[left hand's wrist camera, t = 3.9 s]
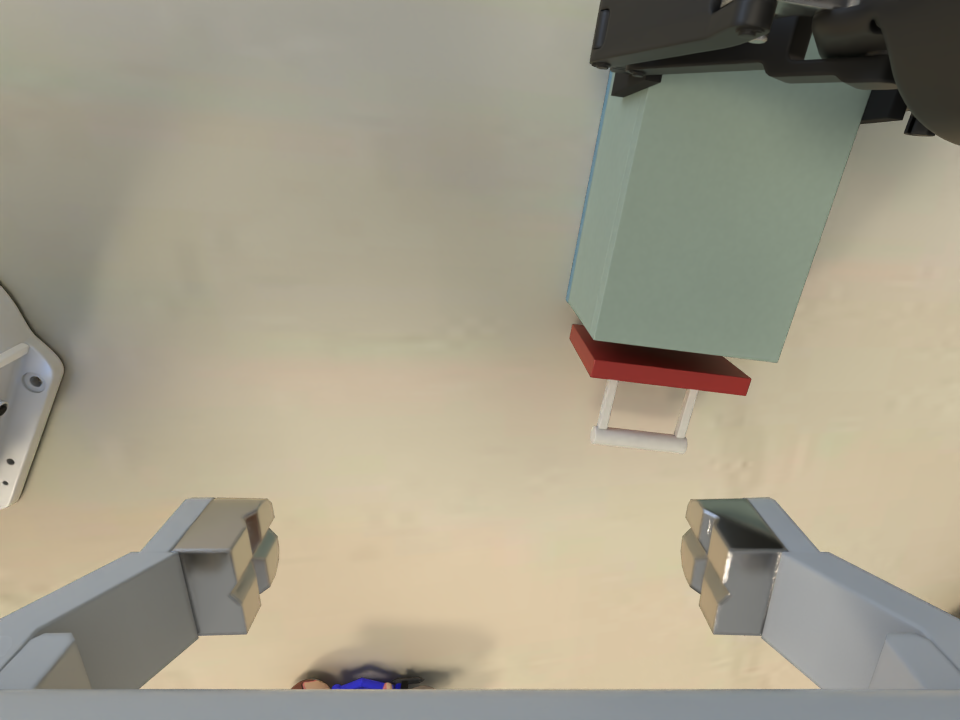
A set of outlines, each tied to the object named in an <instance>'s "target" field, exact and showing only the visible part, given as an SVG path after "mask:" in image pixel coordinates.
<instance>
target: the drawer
mask: <svg viewBox="0 0 960 720" xmlns="http://www.w3.org/2000/svg"><path fill="white" fill-rule="evenodd" d="M570 341H571V342H572V344H573V346H574V348H575V350H576V351H577V353H578V355H579V357H580V359H581V360H582V362H583V364H584V366H585V368H586V370H587V371H588V373H589V375H590V377H593V378H601V379H608V380H607V384H606V388H605V393H604V397H603V401H602V405H601V410H600V414H599V418H598V423H597V426H593V427H592V430H591V436H590V438H591V443H592V444H596V445H605V446H614V447H623V448H632V449H641V450H650V451H658V452H667V453H676V454H684V453H685V452H686V450H687V439H686V437H685V435H686V431H687V428H688V425H689V421H690V418H691V415H692V411H693V408H694V404H695V401H696V398H697V394H698V391H699V390H701V391H709V392H718V393H726V394H734V395H743V396H746V394H747V391H748V388H749V385H750V382H751V378H750V377H748V376H747V375H746V374H745V373H743V372H742V371H741V370H740V369H738V368H737V367H736V366H734V365H733V364H732V363H731V362H729V361H728V360H727V359H725V358H724V357H723V356H718V355H710V354H702V353H694V352H686V351H678V350H670V349H661V348H653V347H645V346H637V345H629V344H621V343H613V342H605V341H597V340H593V338H592V337H591V335H590V334H589V332H588V331H587V329H586V328H585V326H584V325H576V324H573V325H572V329H571V334H570ZM618 381H626V382H634V383H643V384H651V385H659V386H668V387H676V388H684V389H687V390H686V393H685V397H684V400H683V404H682V407H681V411H680V414H679V417H678V421H677V424H676V428H675V431H674V434H675V435H672V434H663V433H654V432H646V431H637V430H628V429H620V428H611V427H608V422H609V418H610V414H611V410H612V406H613V402H614V397H615V393H616V389H617V385H618Z"/></svg>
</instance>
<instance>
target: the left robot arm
mask: <svg viewBox="0 0 960 720" xmlns="http://www.w3.org/2000/svg"><path fill="white" fill-rule="evenodd" d="M63 373H64V367H63V364H62V362H61V360H60V359H59V357H58V356H57V355H56V354H55V353H54V352H53V351H52V350H51V349H50V348H49V347H48V346H47V345H46V344H44V343H43V342H42V341H41V340H40V339H39V338H38V337H36V336H35V335H34V333H33V332H32V331H31V330H30V328H29V326H28V325H27V323H26V322H25V320H24V318H23V316H22V315H21V313H20V311H19V309H18V308H17V306H16V305H15V303H14V302H13V300H12V299H11V297H10V296H9V295H8V294H7V292H6V291H5V290H4V289H3V288H2V287H1V286H0V510H1V509H4V508H7V507H9V506H11V505H12V504H14V503H16V502H17V501H18V499H19V497H20V495H21V492H22V490H23V487H24V484H25V481H26V478H27V475H28V473H29V470H30V467H31V464H32V461H33V459H34V456H35V453H36V450H37V447H38V444H39V442H40V439H41V436H42V433H43V430H44V427H45V425H46V422H47V419H48V416H49V413H50V410H51V408H52V405H53V402H54V399H55V396H56V394H57V391H58V388H59V385H60V382H61V379H62V377H63ZM37 377H38V378H39V379H40V380H41V382H42V383H41V382H40V381H39V380H38V379H37ZM273 519H274V512H273V507H272V503H271V502H270V501H269V500H268V499H260V498H214V497H208V498H189V499H186V500H185V501H184V502H183V503H182V504H181V505H180V506H179V508H178V509H177V510H176V511H175V512H174V513H173V514H172V516H171V517H170V518H169V519H168V520H167V521H166V522H165V524H164V525H163V526H162V527H161V528H160V529H159V531H158V532H157V533H156V534H155V535H154V536H153V537H152V539H151V540H150V541H149V542H148V543H147V544H146V545H145V547H144V548H143V549H142V550H141V551H140V552H131V553H129V554H127V555H125V556H123V557H121V558H119V559H117V560H115V561H113V562H111V563H109V564H107V565H105V566H103V567H101V568H99V569H97V570H95V571H93V572H91V573H89V574H87V575H85V576H83V577H81V578H80V579H78V580H76V581H74V582H72V583H70V584H68V585H66V586H64V587H62V588H60V589H58V590H56V591H54V592H52V593H50V594H48V595H46V596H44V597H42V598H40V599H38V600H36V601H34V602H32V603H30V604H28V605H27V606H25V607H23V608H21V609H19V610H17V611H15V612H13V613H11V614H9V615H7V616H5V617H3V618H1V619H0V720H960V619H959V618H957V617H955V616H953V615H951V614H949V613H947V612H945V611H943V610H941V609H939V608H937V607H935V606H933V605H931V604H929V603H927V602H925V601H923V600H921V599H919V598H918V597H916V596H914V595H912V594H910V593H908V592H906V591H904V590H902V589H900V588H898V587H896V586H894V585H892V584H890V583H888V582H886V581H884V580H882V579H880V578H878V577H876V576H874V575H873V574H871V573H869V572H867V571H865V570H863V569H861V568H859V567H857V566H855V565H853V564H851V563H849V562H847V561H845V560H843V559H841V558H839V557H837V556H835V555H833V554H831V553H829V552H820V551H819V550H818V549H817V548H816V547H815V546H814V544H813V543H812V542H811V541H810V540H809V539H808V537H807V536H806V535H805V534H804V533H803V532H802V531H801V529H800V528H799V527H798V526H797V525H796V524H795V523H794V521H793V520H792V519H791V518H790V517H789V516H788V514H787V513H786V512H785V511H784V510H783V509H782V508H781V506H780V505H779V504H778V503H777V502H776V501H775V500H774V499H772V498H769V497H758V498H742V499H691V500H690V502H689V504H688V506H687V511H686V519H687V521H688V523H689V525H690V526H691V528H690V529H689V530H688V531H687V532H686V533H685V534H684V535H683V536H682V544H681V561H682V568H683V571H684V575H685V577H686V580H687V582H688V584H689V586H690V587H691V588H692V589H694V590H695V591H696V592H698V593H699V594H701V595H700V601H699V607H700V609H701V611H702V613H703V615H704V617H705V619H706V621H707V623H708V625H709V627H710V629H711V631H712V633H713V634H718V635H753V636H762V637H761V638H762V639H763V640H764V641H765V642H767V643H768V644H769V645H770V646H771V647H773V648H774V649H775V650H776V651H777V652H778V653H780V654H781V655H782V656H783V657H784V658H785V659H787V660H788V661H789V662H790V663H791V664H793V665H794V666H795V667H796V668H797V669H798V670H800V671H801V672H802V673H803V674H804V675H805V676H807V677H808V678H809V679H810V680H811V681H813V682H814V683H815V684H816V685H817V686H818V687H820V688H821V689H139V688H141V687H142V686H143V685H144V684H145V683H146V682H148V681H149V680H150V679H151V678H152V677H154V676H155V675H156V674H157V673H158V672H159V671H161V670H162V669H163V668H164V667H165V666H167V665H168V664H169V663H170V662H171V661H172V660H174V659H175V658H176V657H177V656H178V655H179V654H181V653H182V652H183V651H184V650H185V649H187V648H188V647H189V646H190V645H191V644H192V643H194V642H195V641H196V640H197V639H198V638H199V637H198V636H206V635H241V634H247V633H248V631H249V629H250V627H251V625H252V623H253V621H254V619H255V617H256V615H257V613H258V611H259V609H260V607H261V601H260V595H259V594H261V593H262V592H264V591H265V590H266V589H268V588H269V587H270V586H271V584H272V582H273V579H274V577H275V575H276V571H277V566H278V562H279V543H278V536H277V535H276V534H275V533H274V532H273V531H272V530H271V529H270V528H269V526H270V525H271V523H272V521H273Z"/></svg>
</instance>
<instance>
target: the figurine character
mask: <svg viewBox="0 0 960 720" xmlns="http://www.w3.org/2000/svg"><path fill="white" fill-rule="evenodd" d="M423 680H424V679H422V678H420V677H413V678H402V679H395V680H393V681H392V682H390V683H392V684H393V685H391V684H390V683H383V682H378V681H374V680H370V679H365V678H360V679H357V680H355V681H352V682H350V683H347V684H345V685H342V686H341V685H339V684H335V685H334V686H333V687H332V689H394V685H395V689H408V684H413V683H420V682H422V681H423ZM291 689H330V688H329V687H328V685H327V684H325V683H324V682H322V681H320V680H317V679H307V680H304V681H301V682H299V683H297V684H296V685H295V686H294V687H292V688H291ZM413 689H434V688H432V687H429V686H418V687H415V688H413Z"/></svg>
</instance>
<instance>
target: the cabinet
mask: <svg viewBox="0 0 960 720" xmlns="http://www.w3.org/2000/svg"><path fill="white" fill-rule="evenodd" d="M812 59H822V58H821V57H820V55H819V53H818V49H817V46H816V43H815V39H814V36H813V32H812V35H811V39H810V42H809V45H808V49H807V52H806V55H805V59H804V60H812ZM614 77H615V73H614V72H611V71H610V74H609V79H608V84H607V89H606V95H605V100H604V105H603V110H602V115H601V120H600V126H599V131H598V136H597V141H596V146H595V151H594V157H593V162H592V167H591V172H590V177H589V182H588V188H587V193H586V198H585V203H584V208H583V213H582V219H581V224H580V229H579V234H578V239H577V244H576V250H575V255H574V260H573V265H572V270H571V275H570V281H569V286H568V291H567V296H566V301H567V302H568V303H569V304H570V306H571V307H572V309H573V310H574V312H575V313H576V315H577V316H578V318H579V319H580V321H581V322H582V323H583V325H584V326H585V328H586V329H587V331H588V332H589V334H590V335H591V337H592V338H593V340H597V341H605V342H613V343H621V344H629V345H637V346H645V347H653V348H661V349H670V350H678V351H686V352H694V353H702V354H710V355H718V356H726V357H734V358H742V359H750V360H758V361H766V362H774V363H777V362H778V360H779V357H780V354H781V351H782V348H783V345H784V342H785V339H786V337H787V334H788V331H789V328H790V325H791V322H792V319H793V316H794V313H795V310H796V308H797V305H798V302H799V299H800V296H801V293H802V290H803V287H804V284H805V281H806V279H807V276H808V273H809V270H810V267H811V264H812V261H813V258H814V255H815V253H816V250H817V247H818V244H819V241H820V238H821V235H822V232H823V229H824V226H825V224H826V221H827V218H828V215H829V212H830V209H831V206H832V203H833V200H834V197H835V195H836V192H837V189H838V186H839V183H840V180H841V177H842V174H843V171H844V168H845V166H846V163H847V160H848V157H849V154H850V151H851V148H852V145H853V142H854V139H855V137H856V134H857V131H858V128H859V125H860V122H861V119H862V116H863V113H864V110H865V108H866V105H867V102H868V99H869V96H870V93H871V90H860V89H856V88H854V87H852V86H850V85H848V84H846V83H844V82H836V83H796V84H789V83H785V82H782V81H780V80H777V79H775V78H773V77H770V76H768V75H767V74H766V73H765V70H752V71H730V72H708V73H685V74H663V75H662V79H661V83H658V84H656V85H653V86H651V87H648V88H646V89H643V90H641V91H638V92H636V93H634V94H631V95H629V96H626V97H624V98H623V97H616V96H611V92H612V87H613V82H614Z"/></svg>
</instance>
